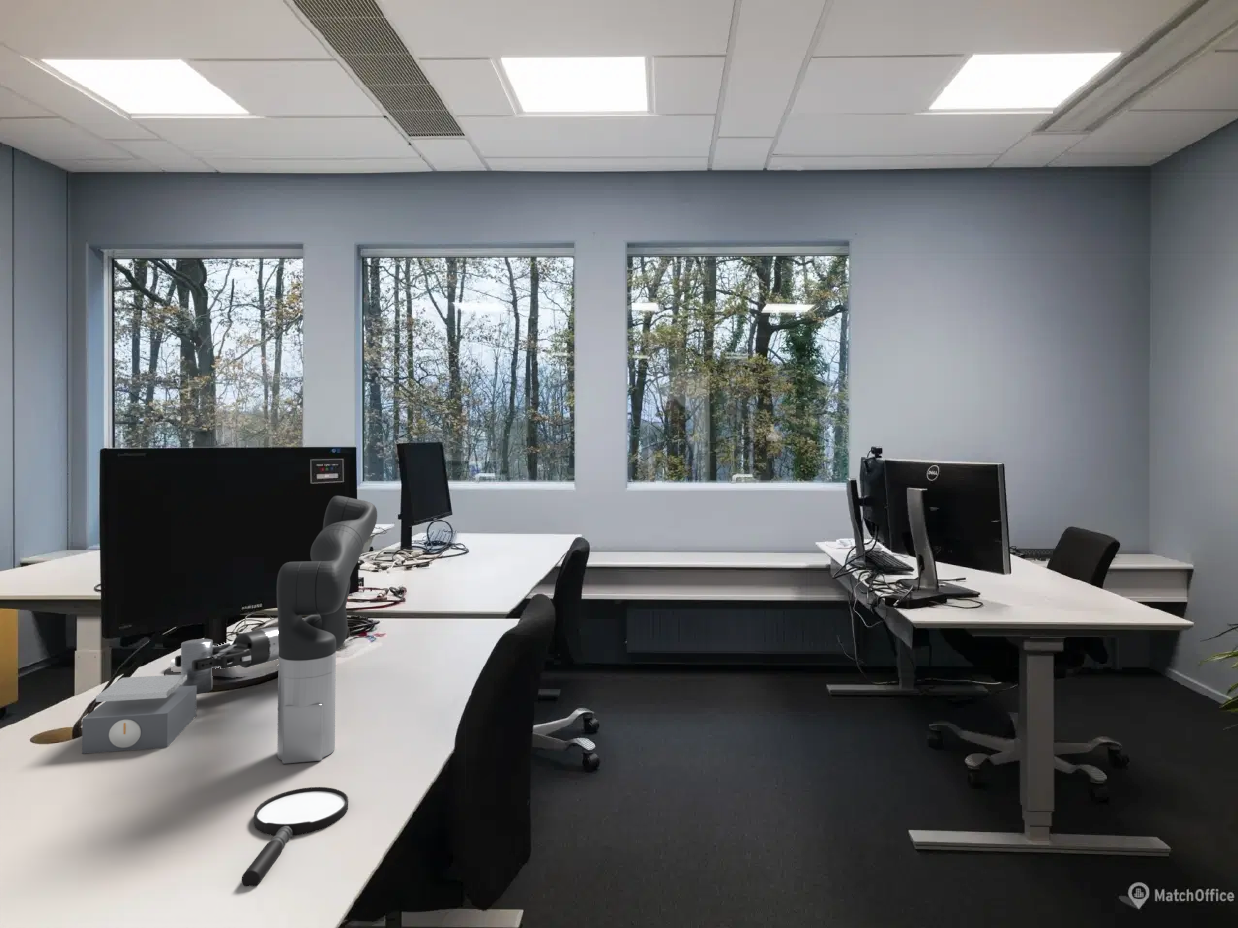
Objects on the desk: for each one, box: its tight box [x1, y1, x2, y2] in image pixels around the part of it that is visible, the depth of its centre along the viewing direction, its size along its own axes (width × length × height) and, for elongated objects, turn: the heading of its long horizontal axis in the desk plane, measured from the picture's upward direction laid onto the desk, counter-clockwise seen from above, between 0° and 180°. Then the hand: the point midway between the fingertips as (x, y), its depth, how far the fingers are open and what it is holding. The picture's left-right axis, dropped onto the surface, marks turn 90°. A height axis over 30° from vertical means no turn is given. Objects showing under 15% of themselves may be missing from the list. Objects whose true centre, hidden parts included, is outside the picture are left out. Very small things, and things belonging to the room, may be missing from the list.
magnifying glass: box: [241, 786, 349, 887], centre depth 99 cm, size 12×24×2 cm, turn 5°
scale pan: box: [95, 674, 187, 703], centre depth 133 cm, size 11×11×1 cm
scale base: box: [81, 685, 198, 754], centre depth 133 cm, size 16×13×6 cm
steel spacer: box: [180, 638, 214, 695], centre depth 149 cm, size 6×6×10 cm
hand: (184, 663), depth 147 cm, fingers closed on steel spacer, 5 cm apart
